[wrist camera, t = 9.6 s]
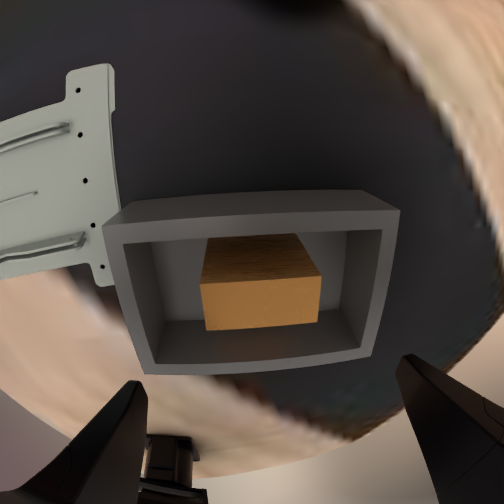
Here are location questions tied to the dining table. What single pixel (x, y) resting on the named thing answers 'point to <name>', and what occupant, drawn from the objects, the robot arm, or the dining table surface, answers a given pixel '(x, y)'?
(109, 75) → the metal bracket
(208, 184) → the dining table surface
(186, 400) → the dining table surface
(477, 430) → the robot arm
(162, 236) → the open box
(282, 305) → the wood grain brick
